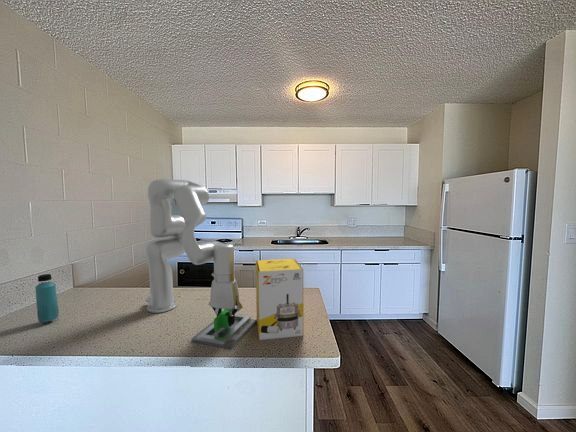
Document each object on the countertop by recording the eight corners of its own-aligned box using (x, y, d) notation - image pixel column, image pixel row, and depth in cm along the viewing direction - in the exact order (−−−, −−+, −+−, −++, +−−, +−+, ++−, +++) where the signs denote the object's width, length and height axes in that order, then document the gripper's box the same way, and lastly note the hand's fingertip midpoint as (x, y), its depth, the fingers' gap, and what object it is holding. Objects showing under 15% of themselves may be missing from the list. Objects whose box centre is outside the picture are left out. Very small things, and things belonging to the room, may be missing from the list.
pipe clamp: (223, 332, 95) (223, 320, 95) (214, 331, 96) (213, 319, 95) (235, 318, 106) (235, 307, 106) (227, 317, 107) (226, 306, 106)
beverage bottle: (62, 319, 112) (59, 273, 110) (44, 327, 105) (40, 277, 104) (52, 317, 114) (49, 271, 112) (33, 324, 108) (29, 276, 106)
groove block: (191, 341, 94) (191, 335, 94) (222, 316, 113) (222, 311, 113) (231, 349, 89) (230, 342, 89) (256, 322, 108) (256, 316, 108)
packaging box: (294, 316, 113) (294, 258, 112) (303, 335, 98) (303, 269, 96) (256, 319, 111) (255, 260, 109) (259, 340, 95) (258, 271, 93)
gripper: (199, 277, 99) (201, 325, 100) (239, 282, 94) (240, 332, 95) (211, 272, 106) (212, 316, 107) (249, 276, 101) (250, 322, 102)
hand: (225, 323), depth 101 cm, fingers closed on pipe clamp, 4 cm apart
